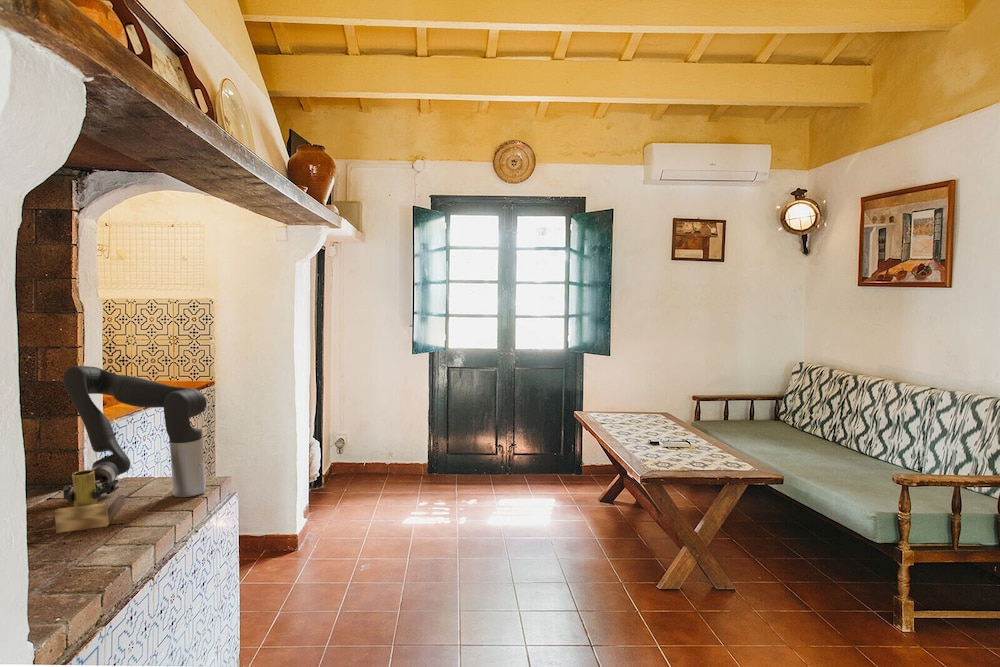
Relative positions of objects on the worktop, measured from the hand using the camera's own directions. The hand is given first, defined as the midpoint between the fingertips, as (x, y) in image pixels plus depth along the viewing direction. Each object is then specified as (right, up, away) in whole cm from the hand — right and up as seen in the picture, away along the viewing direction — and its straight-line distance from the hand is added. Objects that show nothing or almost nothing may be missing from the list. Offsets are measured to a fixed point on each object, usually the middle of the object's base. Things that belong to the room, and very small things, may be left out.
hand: (82, 497), depth 179 cm
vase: (-1, -8, +3) cm, 9 cm away
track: (-2, -8, +8) cm, 11 cm away
